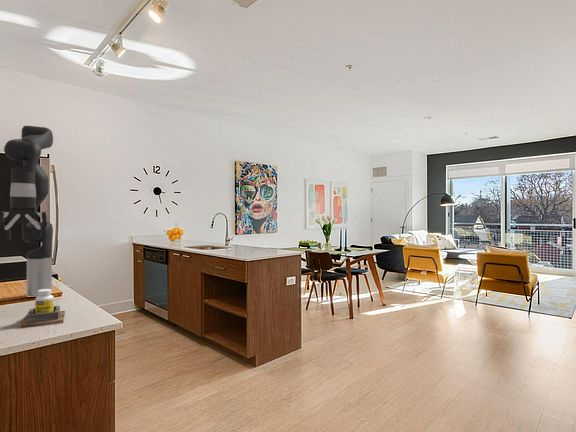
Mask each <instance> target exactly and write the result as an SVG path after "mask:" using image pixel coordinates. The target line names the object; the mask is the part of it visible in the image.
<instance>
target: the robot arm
mask: <svg viewBox="0 0 576 432" xmlns="http://www.w3.org/2000/svg"><path fill="white" fill-rule="evenodd" d="M53 143H54V135H53V131H52V130H51V129H50V128H48V127H44V126H35V125H34V126H33V125H24V126H22V128H21V136H20V138H15V139H11V140H8V141H7V142H6V143H5V144H4V148H3V151H4V155H5V156H6V157H7V158H8V159H10V160H13V161H19V162H20V161H22V162H23V163H22V164H23V165H22V166H15V167H13V168H11V170H10V175H11V176H10V188H9V190H10V192H9V197H10V200H9V202H10V204H9V205H10V208H9V209H10V211H0V229H1V230H4V238H5V239H6V240H7V241H11V237H12V236H11V235H12V234H11V233H12V231H11V228H12V227H13V226H14V225H15V224H17V225H18V224H21V236H22V237H21V238H22V240H23V242H24V243H29V244H30V243H36V244H37V243H41V245H40V246H39V247H38V248H35V249H32V250H29V251H27V252H26V296H27V295H28V296H34V297H38V296H39V295H38V290H41V289H51V290H52V291H53V254H52V253H53V235H54V228H53V224H52V223H51V222H49V221H48V218H47V212H46V211H41V212H38V211H37V210H38V208H39V207H40V205H41V204H42V203H43V202H44V200H45V199H46V198H47V197H48V195H49V177H48V175H47V173H46V172H45V171H44V169H43V168H42V166H41V165H40V164H39V160H40V157H41V153H42V150H44V149H48V148H51V147H52V145H53ZM8 216H9V217H10V218H11V220H10V221H9V222H8V224H7V225H5V218H7V217H8ZM37 216H39V218H40V219H41V221H37V220H36V218H37Z"/></svg>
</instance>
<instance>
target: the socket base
mask: <svg viewBox="0 0 576 432" xmlns="http://www.w3.org/2000/svg"><path fill="white" fill-rule="evenodd" d="M65 315H66V311H65V310H61V306H60V305H54V312H49V313H41V314H35V307H33V308H30V309H29V310H28V312H27V314H25V315H24V317H23V320H22V321H21V323H20V325H19V326H20V327H19V329H26V328H33V327H34V328H35V327H40V326H41V327H42V326H49V325H55V324H57V325H58V324H63V323H64V321H65V320H64V319H65Z"/></svg>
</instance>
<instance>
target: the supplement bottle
mask: <svg viewBox="0 0 576 432" xmlns="http://www.w3.org/2000/svg"><path fill="white" fill-rule="evenodd" d="M51 293H52V295H51ZM38 295H39V296H38V297H36V298H34V300H35V302H34V303H35V304H34V305H35V306H34V308H35V314H41V313H49V312H54V306H55V305H54V304H55V303H54V302H55V298H54V297H55V296H54V295H53V289H52V290H51V289H41V290H38Z"/></svg>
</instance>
